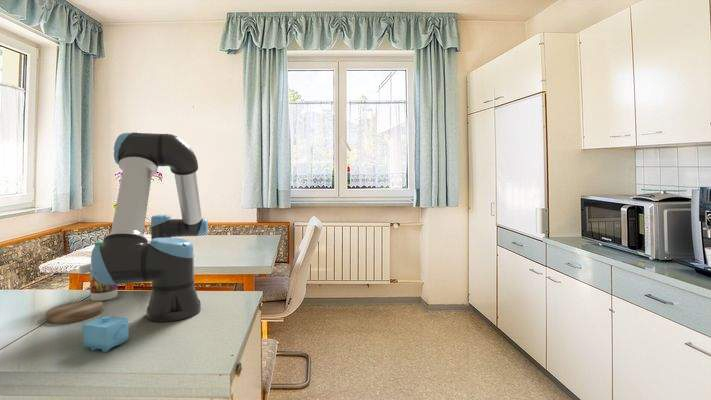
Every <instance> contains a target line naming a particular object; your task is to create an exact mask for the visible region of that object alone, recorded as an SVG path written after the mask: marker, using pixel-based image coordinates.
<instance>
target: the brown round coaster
mask: <svg viewBox="0 0 711 400" xmlns="http://www.w3.org/2000/svg"><path fill="white" fill-rule="evenodd" d="M102 312H104V302H103V301H94V300H80V301H74V302H68V303H64V304H61V305H57V306H54V307H52V308H50V309H48V310H46V312H45V313H44V314H45V315H44V319H45V322H46V323H48V324H57V325H58V324H68V323H75V322H80V321H84V320H89V319H91V318H93V317H96V316H99V315H100V314H102Z"/></svg>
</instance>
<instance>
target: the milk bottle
mask: <svg viewBox="0 0 711 400" xmlns="http://www.w3.org/2000/svg"><path fill="white" fill-rule="evenodd" d="M102 244H103V240H98V241H95V242H94V247H95V246H98V245H102ZM89 282H90V283H89V285H90V286H89V288H90V290H89V291H90V299H91V300H94V301H101V302H103V301H108V300H112V299H115V298H116V297H118V295H119V294H118V290H119V289H118V285H115V284H101V283H99V282H98V281H97V280H96V279H95V277H94V275H93V271H92V266H91V265H90V272H89Z"/></svg>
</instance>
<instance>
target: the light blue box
mask: <svg viewBox="0 0 711 400" xmlns="http://www.w3.org/2000/svg"><path fill="white" fill-rule="evenodd" d="M129 324H130V323H129V318H128V317H121V316H112V315H104V316H101V317H99V318H96V319H94V320H92V321H89V322H87V323H84V324H82V338H83V341H82V343H83V348H90V351H95V350H97V349H98V350H101V352H102V353H107V352H109V351H110V350H111V349H112V348H115V347H116V346H121V345H123V343H125V342H126V341H128V340H129V332H130V331H129Z"/></svg>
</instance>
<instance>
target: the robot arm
mask: <svg viewBox="0 0 711 400" xmlns="http://www.w3.org/2000/svg"><path fill="white" fill-rule="evenodd" d="M113 150H114V151H113V158H114V161H115V163H116V164H117V165H118V168H119V169H120V171H122V172H121V176H120V177H121V178H120V183H119V188H118V194H117V198H116V203H115V209H114V215H113V220H112V224H111V225H112V226H111V232H110V233H109V234H106V235H105V236H104V237H103V240H102V241H103V244H102V245H98V246H95V245H94V247H93V248H92V250H91V256H90V263H87V264H83V265H79V266H78V267H79V274H80V275H83V274H87V273H90V265H91V266H92V271H93V275H94V277H95V279H96V280H97V281H98V282H99V283H101V284H115V285H117V286H118V285H121V284H134V283H147V282H148V283H149V282H150V283H152V288H151V289H152V292H151V295H150V298H149V302H148V306H147V307H146V310H145V312H146V319H147V320H149V321H151V322H155V323H156V322H159V323H167V322H176V321H180V320H185V319H189V318H190V317H191V318H192V317H193V316H196V315H197V314H198V313H200V312H201V309H202V307H201V305H202V303H201V300H200V299H199V295H198V293H197V290H196V288H195V260H194V259H195V253H194V245H193V243H192V241H190V240H187V239H185V238H178V237H203V236H206V235H208V232H209V231H208V230H209V223H208V221H209V220H208V219H207V218H204V217H202V210H201V209H202V208H201V202H200V194H199V185H198V178H197V172H198V170H199V164H198V163H199V162H198V159H197V157H196V154H195V152H194V151H193V148H191V146H190V145H189V144H188V143H187V142H186V141H185V140H184V139H182V138H180V137H179V136H177V135H174V134H172V133H151V132H149V133H146V132H145V133H144V132H135V131H132V132H124V133H121V134H119V135H118V136H117V137H116V139H115V142H114V146H113ZM159 167H169V169H170V172H171V173H172V174H173V175H174V179H175V185H176V186H175V187H176V191H177V196H178V198H177V199H178V203H179V208H180V209H179V210H180V214H181V218H172V217H171V215H170V214H155V215H152V216H150V217H151V218H150V239H151V240H150V243H149V240H148V238H147V237H145V236H144V231H145V224H146V219H147V211H148V204H149V197H150V191H151V183H152V176H153V175H156V173H157V172H158V168H159Z"/></svg>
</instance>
